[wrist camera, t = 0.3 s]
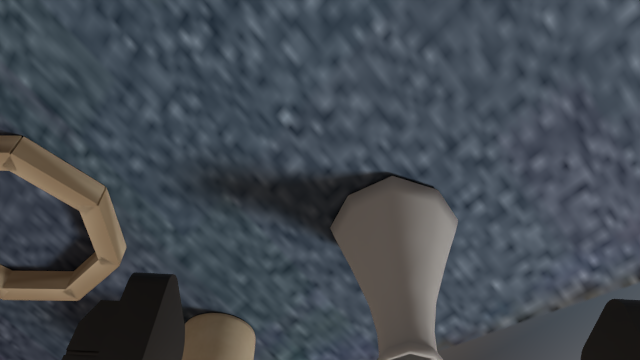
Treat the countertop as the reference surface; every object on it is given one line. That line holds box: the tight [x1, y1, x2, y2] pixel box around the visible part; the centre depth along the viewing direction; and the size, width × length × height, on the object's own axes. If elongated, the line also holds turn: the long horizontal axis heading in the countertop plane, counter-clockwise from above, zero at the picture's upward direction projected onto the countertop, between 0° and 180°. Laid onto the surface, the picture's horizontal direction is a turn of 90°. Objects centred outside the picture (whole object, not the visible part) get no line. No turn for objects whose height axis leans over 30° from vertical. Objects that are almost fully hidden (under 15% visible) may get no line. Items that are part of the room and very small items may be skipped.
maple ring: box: [0, 136, 126, 301], centre depth 34 cm, size 12×12×2 cm
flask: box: [330, 176, 458, 360], centre depth 30 cm, size 7×7×10 cm
